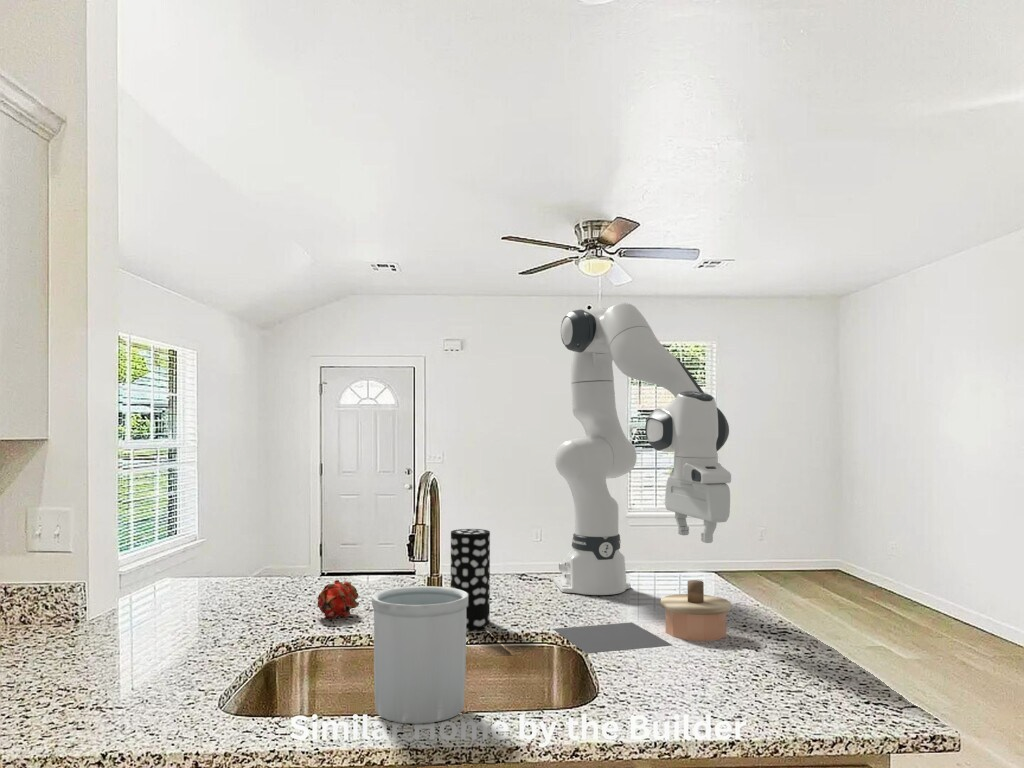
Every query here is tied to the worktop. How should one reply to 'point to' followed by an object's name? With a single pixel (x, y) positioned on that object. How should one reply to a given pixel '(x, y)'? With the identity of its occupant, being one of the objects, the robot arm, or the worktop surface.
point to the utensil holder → (419, 653)
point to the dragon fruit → (337, 599)
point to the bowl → (696, 626)
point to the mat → (611, 637)
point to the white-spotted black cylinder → (472, 573)
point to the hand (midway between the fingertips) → (694, 538)
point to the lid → (695, 601)
